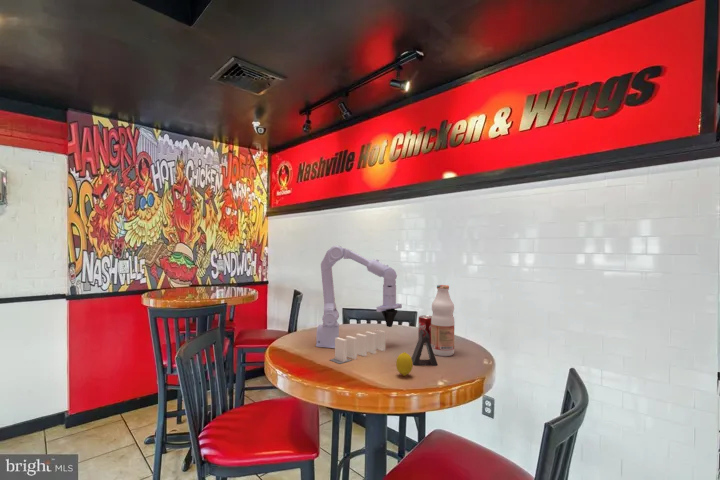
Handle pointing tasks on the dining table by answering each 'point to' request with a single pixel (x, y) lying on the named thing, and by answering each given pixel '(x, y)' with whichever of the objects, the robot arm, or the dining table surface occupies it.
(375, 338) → the tile
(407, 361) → the lemon
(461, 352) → the dining table surface
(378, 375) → the dining table surface
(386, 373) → the dining table surface
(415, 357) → the phone stand
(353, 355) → the tile
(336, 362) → the end marker
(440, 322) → the fruit juice
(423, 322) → the soda can
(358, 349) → the tile
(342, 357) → the tile
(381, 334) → the head tile
